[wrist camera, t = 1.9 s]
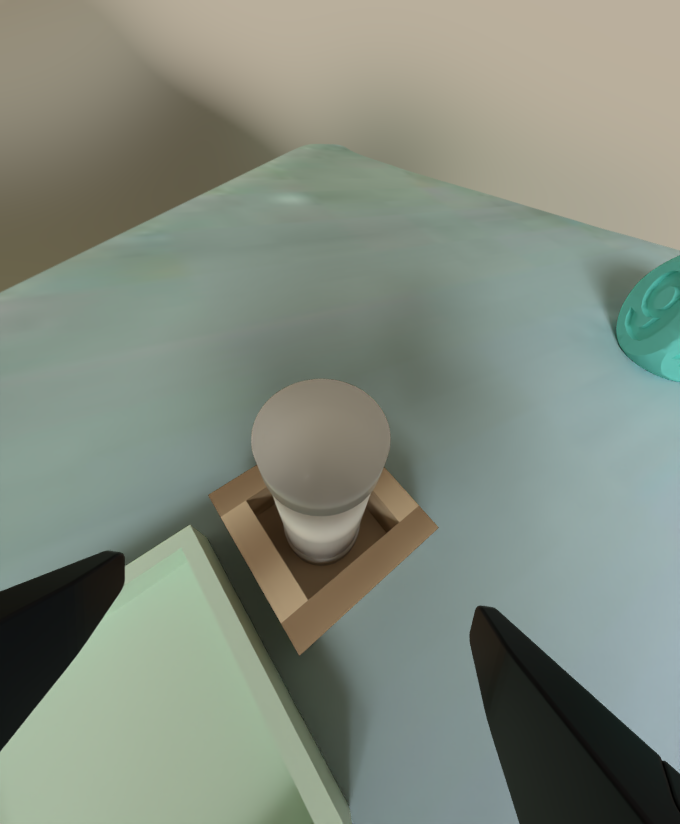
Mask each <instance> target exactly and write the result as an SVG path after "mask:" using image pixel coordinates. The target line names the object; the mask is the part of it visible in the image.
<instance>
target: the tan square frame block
mask: <svg viewBox="0 0 680 824" xmlns="http://www.w3.org/2000/svg"><path fill="white" fill-rule="evenodd" d="M208 496H209V498H210V499H211V501H212V503H213V505H214V506H215V508H216V510H217V512H218V513H219V515H220V517H221V519H222V520H223V522H224V524H225V526H226V527H227V529H228V531H229V533H230V534H231V536H232V538H233V540H234V542H235V543H236V545H237V547H238V549H239V550H240V552H241V554H242V556H243V557H244V559H245V561H246V563H247V564H248V566H249V568H250V570H251V571H252V573H253V575H254V577H255V579H256V580H257V582H258V584H259V586H260V587H261V589H262V591H263V593H264V594H265V596H266V598H267V600H268V601H269V603H270V605H271V607H272V608H273V610H274V612H275V614H276V616H277V617H278V619H279V621H280V623H281V624H282V626H283V628H284V630H285V631H286V633H287V635H288V637H289V638H290V640H291V642H292V644H293V645H294V647H295V649H296V651H297V652H298V654H299V656H300V655H301V654H302V653H303V652H304V651H305V650H306V649H307V648H309V647H310V646H311V645H312V644H313V643H314V642H315V641H316V640H317V639H318V638H319V637H321V636H322V635H323V634H324V633H325V632H326V631H327V630H328V629H329V628H330V627H331V626H332V625H334V624H335V623H336V622H337V621H338V620H339V619H340V618H341V617H342V616H343V615H344V614H346V613H347V612H348V611H349V610H350V609H351V608H352V607H353V606H354V605H355V604H356V603H357V602H359V601H360V600H361V599H362V598H363V597H364V596H365V595H366V594H367V593H368V592H369V591H370V590H372V589H373V588H374V587H375V586H376V585H377V584H378V583H379V582H380V581H381V580H382V579H384V578H385V577H386V576H387V575H388V574H389V573H390V572H391V571H392V570H393V569H394V568H395V567H397V566H398V565H399V564H400V563H401V562H402V561H403V560H404V559H405V558H406V557H407V556H409V555H410V554H411V553H412V552H413V551H414V550H415V549H416V548H417V547H418V546H419V545H420V544H422V543H423V542H424V541H425V540H426V539H427V538H428V537H429V536H430V535H431V534H432V533H433V532H435V531H436V530H437V529H438V528H439V527H438V526H437V525H436V524H435V523H434V522H433V521H432V520H431V518H430V517H429V516H428V515H427V514H426V513H425V512H424V511H423V510H422V508H421V507H420V506H419V505H418V504H417V503H416V502H415V501H414V500H413V498H412V497H411V496H410V495H409V494H408V493H407V492H406V491H405V490H404V488H403V487H402V486H401V485H400V484H399V483H398V482H397V481H396V480H395V478H394V477H393V476H392V475H391V474H390V473H389V472H388V471H387V470H386V468H385V467H384V468H383V470H382V473H381V476H380V478H379V480H378V482H377V485H376V486H375V488H374V489H373V491H372V492H371V494H370V497H369V500H368V502H367V505H366V508H365V511H364V514H363V516H362V519H361V522H360V529H359V533H358V536H357V538H356V541H355V543H354V546H353V547H352V549H351V550H350V552H349V553H348V554H347V555H346V556H345V557H344V558H343V559H341V560H340V561H338V562H336V563H333V564H330V565H325V566H318V565H312V564H309V563H306V562H305V561H303V560H301V559H300V558H299V557H298V556H297V555H296V554H295V553H294V552H293V551H292V549H291V547H290V545H289V543H288V541H287V538H286V535H285V532H284V525H283V522H282V519H281V517H280V514H279V511H278V509H277V506H276V504H275V501H274V498H273V496H272V494H271V493H270V491H269V490H268V488H267V487H266V485H265V483H264V481H263V478H262V476H261V473H260V471H259V468H258V466H257V465H256V466H254V467H253V468H251V469H249V470H248V471H246V472H245V473H243V474H241V475H240V476H238V477H236V478H235V479H233V480H232V481H230V482H228V483H227V484H225V485H224V486H222V487H220V488H219V489H217V490H216V491H214V492H212V493H211V494H209V495H208Z"/></svg>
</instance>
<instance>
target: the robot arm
mask: <svg viewBox="0 0 680 824" xmlns="http://www.w3.org/2000/svg"><path fill="white" fill-rule="evenodd" d="M124 583H125V557H124V554H123V553H121V552H115V551H104V552H101V553H98V554H96V555H93V556H91V557H88V558H85V559H83V560H80V561H78V562H75V563H73V564H70V565H67V566H65V567H62V568H60V569H57V570H55V571H52V572H49V573H47V574H44V575H42V576H39V577H36V578H34V579H31V580H29V581H26V582H24V583H21V584H18V585H16V586H13V587H11V588H8V589H6V590H3V591H0V752H1V750H2V749H3V748H4V747H5V745H6V744H7V743H8V742H9V740H10V739H11V738H12V737H13V735H14V734H15V733H16V732H17V730H18V729H19V728H20V727H21V725H22V724H23V723H24V722H25V720H26V719H27V718H28V717H29V715H30V714H31V713H32V712H33V710H34V709H35V708H36V707H37V705H38V704H39V703H40V702H41V700H42V699H43V698H44V697H45V695H46V694H47V693H48V692H49V690H50V689H51V688H52V686H53V685H54V684H55V683H56V681H57V680H58V679H59V678H60V676H61V675H62V674H63V673H64V671H65V670H66V669H67V668H68V666H69V665H70V664H71V663H72V661H73V660H74V659H75V657H76V656H77V655H78V653H79V652H80V651H81V649H82V648H83V647H84V645H85V644H86V642H87V641H88V639H89V638H90V636H91V635H92V633H93V632H94V630H95V629H96V628H97V626H98V625H99V623H100V622H101V620H102V619H103V617H104V616H105V614H106V613H107V611H108V610H109V608H110V607H111V605H112V604H113V602H114V601H115V600H116V598H117V597H118V595H119V594H120V592H121V590H122V588H123V586H124ZM470 646H471V650H472V655H473V659H474V664H475V668H476V673H477V677H478V682H479V686H480V691H481V695H482V700H483V704H484V709H485V713H486V717H487V721H488V724H489V727H490V731H491V734H492V737H493V741H494V744H495V747H496V750H497V753H498V757H499V760H500V763H501V766H502V769H503V772H504V776H505V779H506V782H507V785H508V788H509V792H510V795H511V798H512V801H513V804H514V808H515V811H516V814H517V817H518V820H519V823H520V824H680V774H679V773H678V772H677V771H676V770H675V769H674V768H673V767H672V766H671V765H669V764H668V763H667V762H666V761H662V760H661V757H660V756H659V755H658V754H657V753H656V752H655V751H654V750H653V749H651V748H650V747H649V746H648V745H647V744H646V743H645V742H644V741H643V740H641V739H640V738H639V737H638V736H637V735H636V734H635V733H634V732H633V731H631V730H630V729H629V728H628V727H627V726H626V725H625V724H624V723H623V722H621V721H620V720H619V719H618V718H617V717H616V716H615V715H614V714H613V713H611V712H610V711H609V710H608V709H607V708H606V707H605V706H604V705H603V704H601V703H600V702H599V701H598V700H597V699H596V698H595V697H594V696H593V695H591V694H590V693H589V692H588V691H587V690H586V689H585V688H584V687H583V686H581V685H580V684H579V683H578V682H577V681H576V680H575V679H574V678H572V677H571V676H570V675H569V674H568V673H567V672H566V671H565V670H564V669H562V668H561V667H560V666H559V665H558V664H557V663H556V662H555V661H554V660H552V659H551V658H550V657H549V656H548V655H547V654H546V653H545V652H544V651H542V650H541V649H540V648H539V647H538V646H537V645H536V644H535V643H534V642H532V641H531V640H530V639H529V638H528V637H527V636H526V635H525V634H524V633H522V632H521V631H520V630H519V629H518V628H517V627H516V626H515V625H514V624H512V623H511V622H510V621H509V620H508V619H507V618H506V617H505V616H504V615H502V614H501V613H500V612H499V611H498V610H497V609H495V608H493V607H487V606H478V607H477V608H476V610H475V613H474V617H473V621H472V625H471V630H470Z"/></svg>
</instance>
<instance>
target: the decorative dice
mask: <svg viewBox="0 0 680 824" xmlns="http://www.w3.org/2000/svg"><path fill="white" fill-rule="evenodd" d="M616 332H617V339H618V342H619V345H620V347H621V348H622V350H623V351H624V352H625V354H626V355H627V356H628V357H629V358H630V359H631V360H632V361H634V362H635V363H636V364H637V365H639V366H640V367H642V368H643V369H645V370H647V371H649V372H651V373H653V374H655V375H657V376H660V377H662V378H665V379H668V380H672V381H677V382H680V256H677V257H675V258H673V259H671V260H669V261H667V262H665V263H663V264H662V265H660V266H658V267H657V268H655V269H654V270H653V271H651V272H650V273H648V274H647V275H646V276H645V277H643V278H642V279H641V280H640V281H639V282H638V283H637V284H636V286H635V287H634V288H633V289H632V291H631V292H630V293H629V295H628V296H627V298H626V300H625V301H624V303H623V305H622V308H621V310H620V313H619V316H618V320H617V327H616Z"/></svg>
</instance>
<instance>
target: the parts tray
mask: <svg viewBox="0 0 680 824" xmlns="http://www.w3.org/2000/svg"><path fill="white" fill-rule="evenodd" d="M0 824H352V820H351V814H350V808H349V806H348V804H347V802H346V800H345V798H344V796H343V794H342V792H341V791H340V789H339V787H338V785H337V783H336V781H335V779H334V777H333V775H332V774H331V772H330V770H329V768H328V766H327V764H326V762H325V760H324V758H323V757H322V755H321V753H320V751H319V749H318V747H317V745H316V743H315V741H314V739H313V738H312V736H311V734H310V732H309V730H308V728H307V726H306V724H305V722H304V721H303V719H302V717H301V715H300V713H299V711H298V709H297V707H296V705H295V704H294V702H293V700H292V698H291V696H290V694H289V692H288V690H287V688H286V687H285V685H284V683H283V681H282V679H281V677H280V675H279V673H278V671H277V669H276V668H275V666H274V664H273V662H272V660H271V658H270V656H269V654H268V652H267V651H266V649H265V647H264V645H263V643H262V641H261V639H260V637H259V635H258V634H257V632H256V630H255V628H254V626H253V624H252V622H251V620H250V618H249V617H248V615H247V613H246V611H245V609H244V607H243V605H242V603H241V601H240V600H239V598H238V596H237V594H236V592H235V590H234V588H233V586H232V584H231V582H230V581H229V579H228V577H227V575H226V573H225V571H224V569H223V567H222V565H221V564H220V562H219V560H218V558H217V556H216V554H215V552H214V550H213V548H212V547H211V545H210V543H209V541H208V539H207V538H206V537H205V536H204V535H203V534H201V533H200V532H199V531H197V530H196V529H195V528H194V527H192V526H191V525H189V526H187V527H185V528H184V529H182V530H181V531H179V532H178V533H176V534H175V535H173V536H171V537H170V538H168V539H167V540H165V541H164V542H162V543H161V544H159V545H157V546H156V547H154V548H153V549H151V550H150V551H148V552H147V553H145V554H143V555H142V556H140V557H139V558H137V559H136V560H134V561H133V562H131V563H129V564H128V565H126V566H125V583H124V586H123V588H122V590H121V592H120V594H119V595H118V597H117V598H116V600H115V601H114V602H113V604H112V605H111V607H110V608H109V610H108V611H107V613H106V614H105V616H104V617H103V619H102V620H101V622H100V623H99V625H98V626H97V628H96V629H95V630H94V632H93V633H92V635H91V636H90V638H89V639H88V641H87V642H86V644H85V645H84V647H83V648H82V649H81V651H80V652H79V653H78V655H77V656H76V657H75V659H74V660H73V661H72V663H71V664H70V665H69V666H68V668H67V669H66V670H65V671H64V673H63V674H62V675H61V676H60V678H59V679H58V680H57V681H56V683H55V684H54V685H53V686H52V688H51V689H50V690H49V692H48V693H47V694H46V695H45V697H44V698H43V699H42V700H41V702H40V703H39V704H38V705H37V707H36V708H35V709H34V710H33V712H32V713H31V714H30V715H29V717H28V718H27V719H26V720H25V722H24V723H23V724H22V725H21V727H20V728H19V729H18V730H17V732H16V733H15V734H14V735H13V737H12V738H11V739H10V740H9V742H8V743H7V744H6V745H5V747H4V748H3V749H2V750H1V752H0Z"/></svg>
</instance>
